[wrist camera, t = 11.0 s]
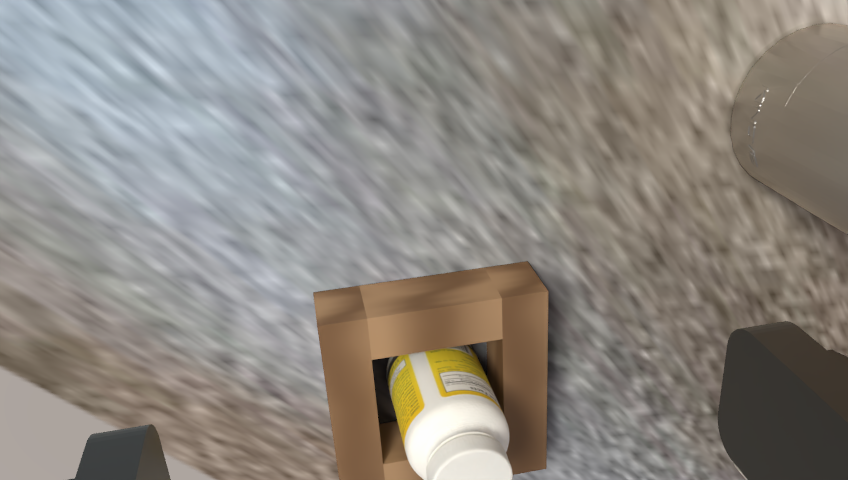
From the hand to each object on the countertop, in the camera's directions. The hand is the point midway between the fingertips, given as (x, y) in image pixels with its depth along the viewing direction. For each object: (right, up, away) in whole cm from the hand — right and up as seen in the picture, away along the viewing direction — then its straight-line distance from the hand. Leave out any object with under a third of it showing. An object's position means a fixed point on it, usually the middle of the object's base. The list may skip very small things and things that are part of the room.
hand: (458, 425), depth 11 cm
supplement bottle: (0, -5, +34) cm, 34 cm away
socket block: (0, -5, +34) cm, 34 cm away
